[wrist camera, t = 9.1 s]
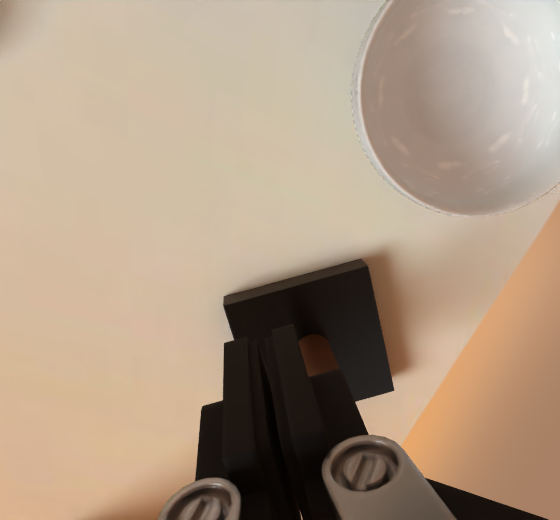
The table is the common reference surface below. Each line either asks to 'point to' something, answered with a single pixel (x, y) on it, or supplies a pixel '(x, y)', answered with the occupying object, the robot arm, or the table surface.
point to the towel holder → (321, 323)
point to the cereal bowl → (462, 102)
